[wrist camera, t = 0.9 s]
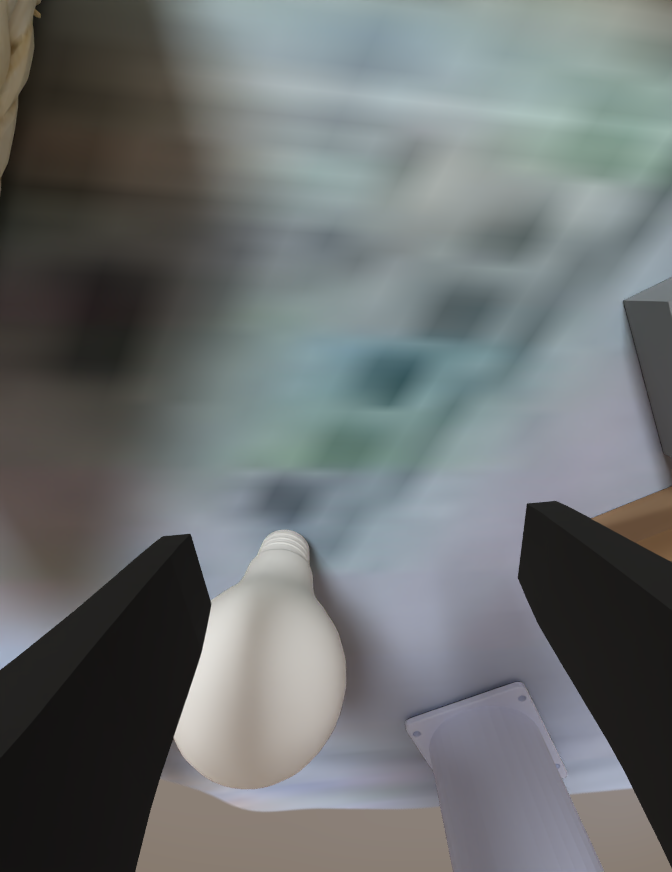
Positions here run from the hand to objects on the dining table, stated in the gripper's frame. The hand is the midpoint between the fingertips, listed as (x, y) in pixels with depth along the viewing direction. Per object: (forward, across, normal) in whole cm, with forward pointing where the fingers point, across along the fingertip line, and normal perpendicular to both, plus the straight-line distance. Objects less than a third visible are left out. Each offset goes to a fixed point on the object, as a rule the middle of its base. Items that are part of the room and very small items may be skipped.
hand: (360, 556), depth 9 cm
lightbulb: (+11, +4, +8) cm, 14 cm away
